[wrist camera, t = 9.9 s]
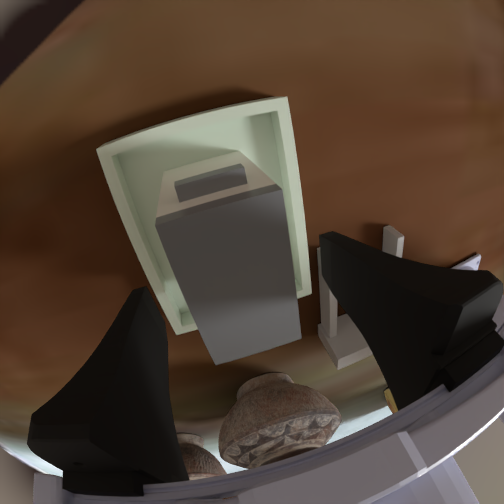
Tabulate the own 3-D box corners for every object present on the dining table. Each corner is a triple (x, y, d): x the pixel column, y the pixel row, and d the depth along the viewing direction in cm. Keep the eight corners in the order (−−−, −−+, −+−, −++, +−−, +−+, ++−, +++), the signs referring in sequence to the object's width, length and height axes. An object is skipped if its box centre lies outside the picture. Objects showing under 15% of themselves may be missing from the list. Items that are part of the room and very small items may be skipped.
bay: (383, 309, 25) (406, 337, 22) (318, 335, 24) (337, 369, 21) (392, 224, 20) (426, 250, 17) (312, 249, 19) (340, 283, 16)
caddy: (262, 261, 18) (301, 338, 13) (199, 280, 18) (215, 365, 12) (237, 139, 14) (279, 171, 8) (160, 160, 14) (148, 207, 8)
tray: (301, 278, 20) (311, 293, 19) (175, 316, 19) (176, 335, 18) (275, 96, 14) (287, 96, 12) (104, 143, 13) (96, 149, 11)
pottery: (124, 442, 28) (130, 525, 18) (267, 335, 23) (323, 471, 13) (194, 458, 34) (209, 528, 24) (335, 370, 28) (385, 462, 18)
